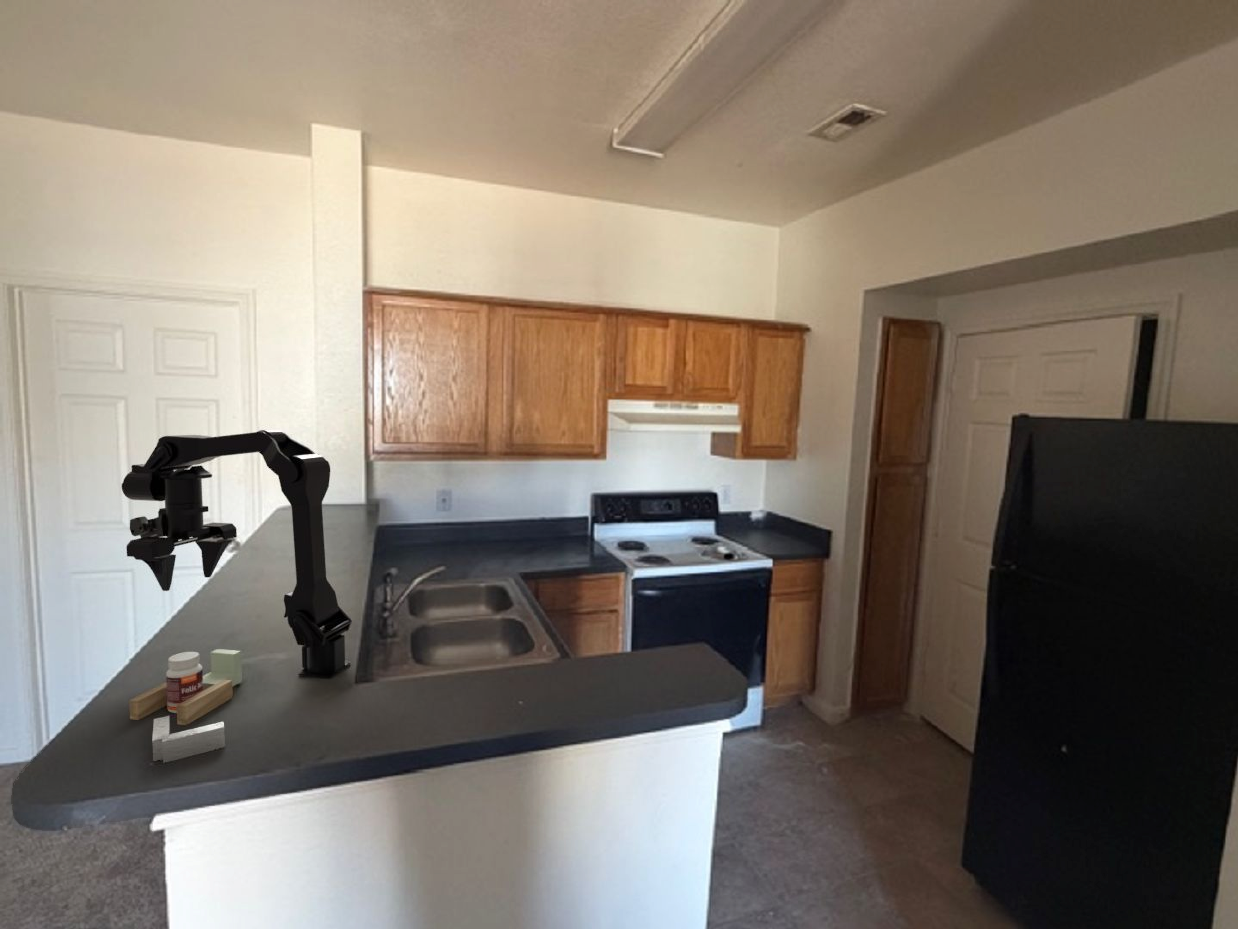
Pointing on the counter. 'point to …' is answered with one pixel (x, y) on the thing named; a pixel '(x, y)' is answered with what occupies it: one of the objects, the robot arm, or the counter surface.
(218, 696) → the channel
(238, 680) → the block
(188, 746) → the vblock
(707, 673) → the counter surface
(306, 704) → the counter surface
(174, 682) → the pill bottle
